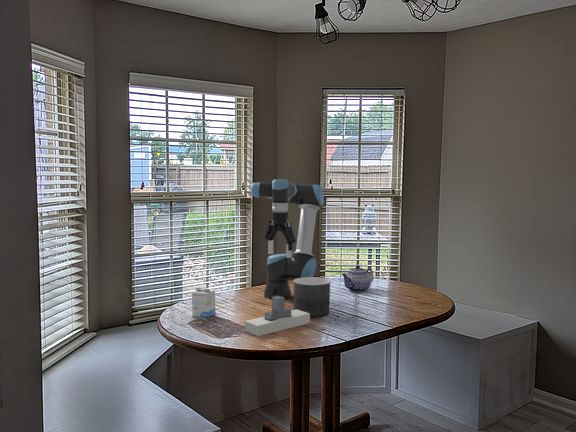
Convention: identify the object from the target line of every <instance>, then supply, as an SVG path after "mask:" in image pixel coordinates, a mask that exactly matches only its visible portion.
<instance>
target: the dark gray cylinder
mask: <svg viewBox="0 0 576 432" xmlns="http://www.w3.org/2000/svg"><path fill="white" fill-rule="evenodd" d="M330 294H331V281H330V280H329V279H327V278H323V277H314V276H313V277H305V278H298V279H293V310H296V309H297V310H300V311H304V312H307V313H310V318H321V317H326V316H328V315H329V314H330V313H331V312H330V310H331V309H330V304H331V301H330V300H331V295H330Z"/></svg>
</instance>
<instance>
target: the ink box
mask: <svg viewBox="0 0 576 432" xmlns="http://www.w3.org/2000/svg"><path fill="white" fill-rule="evenodd" d="M194 289H195V291H191V307H192V309H191V310H192V311H191V312H192V313H191V314H192V317H201V318H209V317H212V316H213V315H215V314H216V290H215V289H210V288H205V287H204V288H203V287H194Z"/></svg>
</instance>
